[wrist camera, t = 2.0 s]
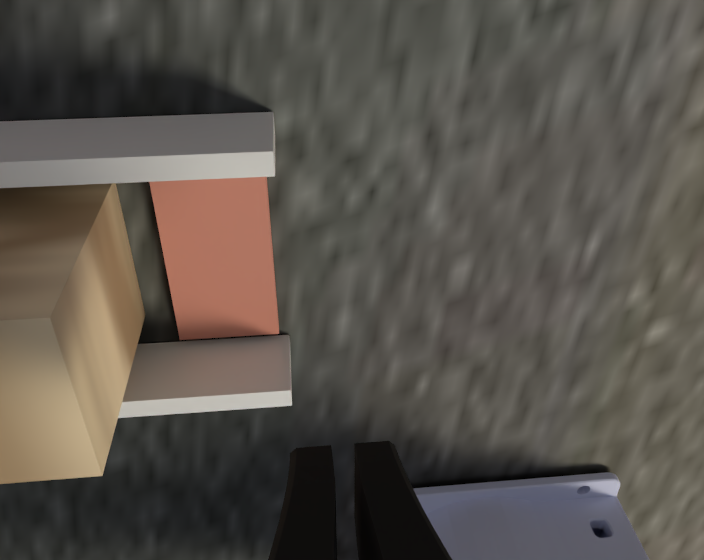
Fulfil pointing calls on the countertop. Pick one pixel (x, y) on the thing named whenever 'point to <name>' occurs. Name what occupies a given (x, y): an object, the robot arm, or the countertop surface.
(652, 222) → the countertop surface
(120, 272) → the maple block
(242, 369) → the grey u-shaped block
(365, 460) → the robot arm
